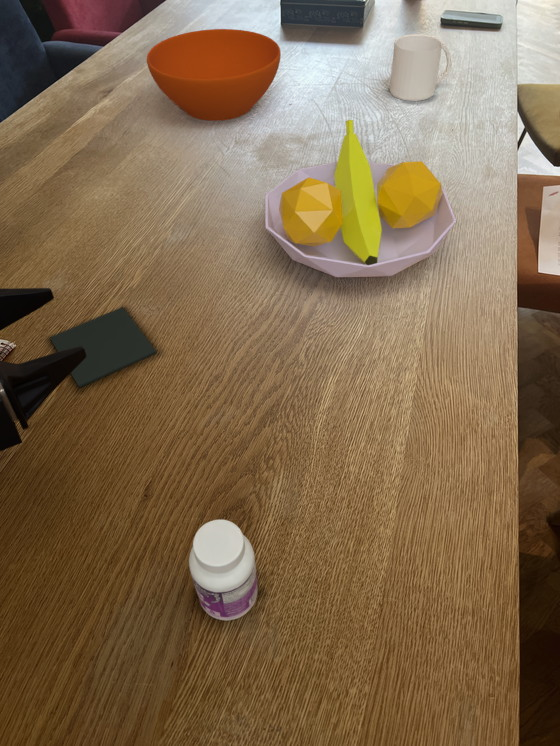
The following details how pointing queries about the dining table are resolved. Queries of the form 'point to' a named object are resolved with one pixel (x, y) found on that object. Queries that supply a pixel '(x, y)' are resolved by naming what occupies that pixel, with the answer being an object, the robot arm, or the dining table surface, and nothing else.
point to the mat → (104, 345)
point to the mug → (417, 66)
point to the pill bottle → (223, 570)
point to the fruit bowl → (359, 214)
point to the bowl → (215, 71)
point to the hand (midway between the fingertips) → (67, 320)
